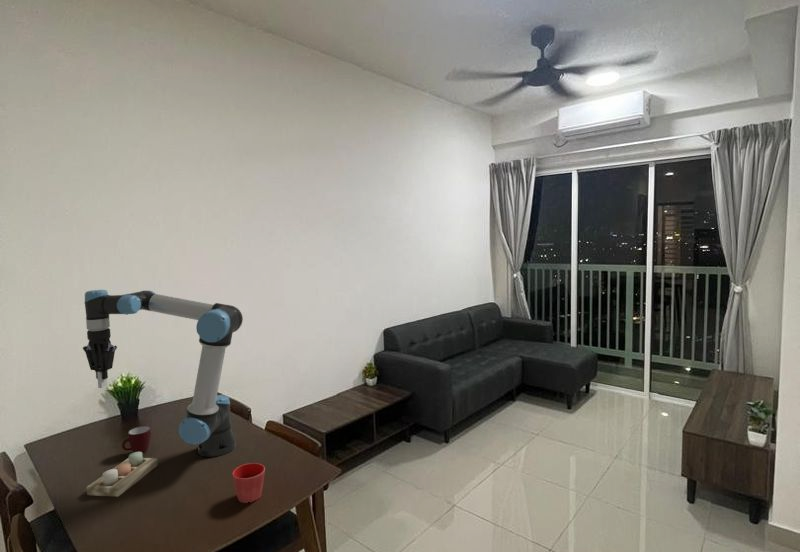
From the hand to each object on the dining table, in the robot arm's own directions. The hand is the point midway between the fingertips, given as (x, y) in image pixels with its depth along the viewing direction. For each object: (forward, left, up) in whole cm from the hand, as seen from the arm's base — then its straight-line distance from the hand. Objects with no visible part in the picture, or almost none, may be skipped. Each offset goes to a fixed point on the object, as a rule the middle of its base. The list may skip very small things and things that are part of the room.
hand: (102, 386), depth 170 cm
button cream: (-15, +16, -29) cm, 37 cm away
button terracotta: (-15, +10, -31) cm, 36 cm away
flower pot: (-68, +17, -33) cm, 77 cm away
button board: (-15, +10, -32) cm, 37 cm away
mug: (-6, -9, -33) cm, 34 cm away
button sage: (-15, +3, -29) cm, 33 cm away
